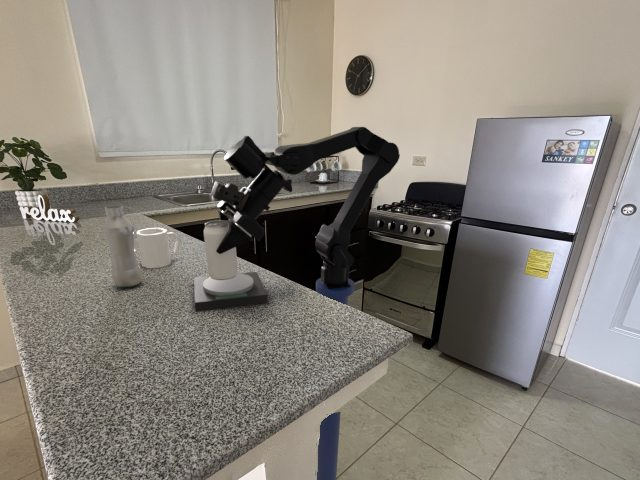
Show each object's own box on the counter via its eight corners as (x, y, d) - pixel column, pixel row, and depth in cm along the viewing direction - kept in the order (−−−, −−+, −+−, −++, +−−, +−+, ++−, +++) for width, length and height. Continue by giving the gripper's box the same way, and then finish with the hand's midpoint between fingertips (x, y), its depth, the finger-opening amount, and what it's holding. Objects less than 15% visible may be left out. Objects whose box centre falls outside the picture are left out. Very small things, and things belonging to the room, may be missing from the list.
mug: (145, 270, 99) (139, 236, 95) (138, 261, 105) (132, 230, 101) (187, 262, 106) (184, 230, 102) (178, 254, 112) (174, 224, 108)
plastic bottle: (116, 281, 91) (99, 205, 83) (144, 278, 93) (131, 203, 85) (112, 291, 85) (94, 210, 78) (142, 288, 88) (128, 208, 80)
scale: (256, 279, 95) (256, 268, 94) (267, 302, 82) (267, 290, 80) (195, 285, 90) (193, 273, 89) (195, 311, 77) (194, 298, 76)
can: (234, 281, 76) (229, 227, 71) (204, 280, 76) (198, 226, 71) (240, 270, 82) (236, 219, 77) (213, 269, 82) (207, 219, 77)
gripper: (222, 163, 79) (177, 216, 79) (245, 171, 64) (190, 236, 64) (257, 196, 86) (216, 244, 85) (286, 210, 70) (236, 270, 70)
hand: (214, 248), depth 76 cm, fingers closed on can, 6 cm apart
